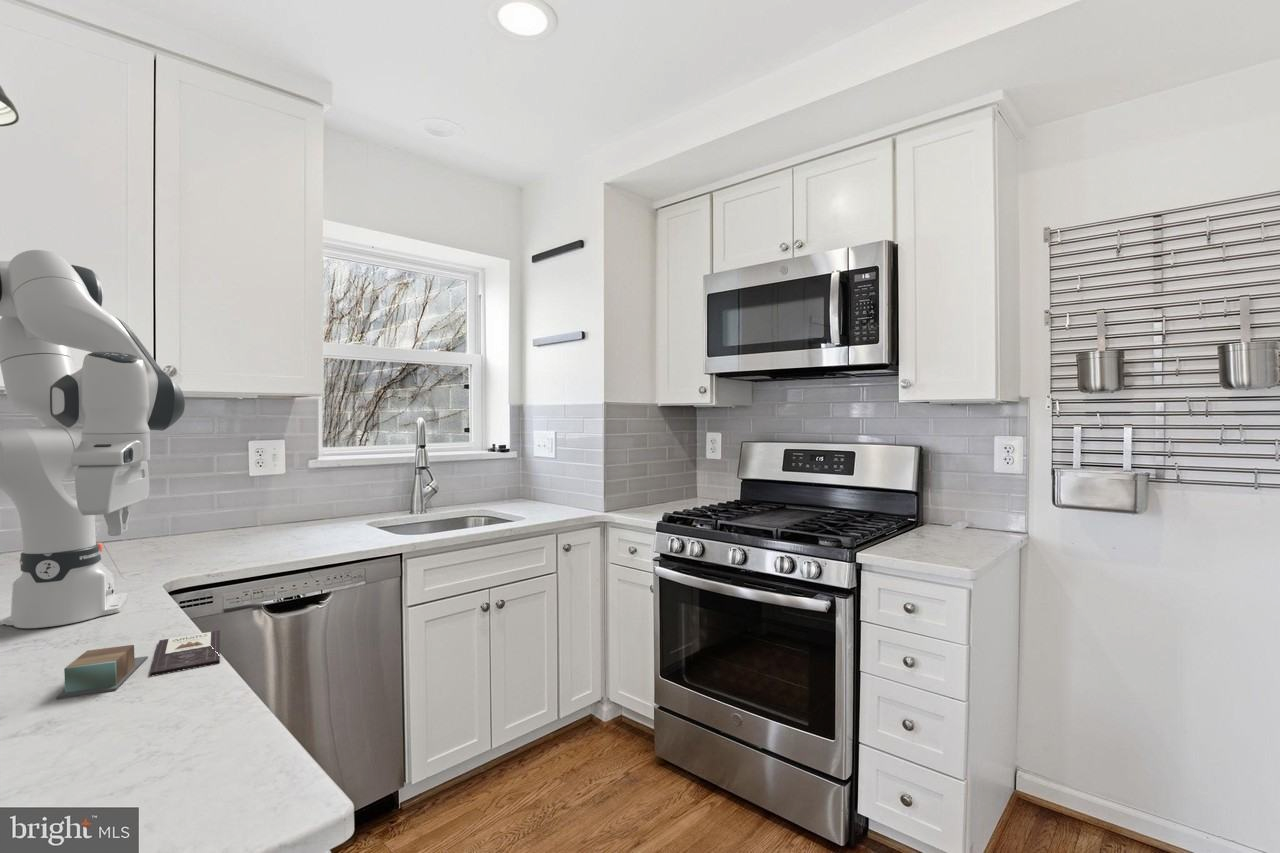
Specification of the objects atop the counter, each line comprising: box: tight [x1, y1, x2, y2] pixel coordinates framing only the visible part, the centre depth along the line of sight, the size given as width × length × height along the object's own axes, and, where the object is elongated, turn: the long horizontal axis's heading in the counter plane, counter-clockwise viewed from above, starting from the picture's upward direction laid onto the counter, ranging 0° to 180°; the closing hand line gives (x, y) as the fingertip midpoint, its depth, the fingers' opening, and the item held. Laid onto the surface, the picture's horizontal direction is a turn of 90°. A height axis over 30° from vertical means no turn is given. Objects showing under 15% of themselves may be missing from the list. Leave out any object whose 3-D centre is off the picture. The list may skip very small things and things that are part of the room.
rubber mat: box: [55, 655, 149, 700], centre depth 101 cm, size 14×7×1 cm, turn 22°
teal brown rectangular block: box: [63, 644, 136, 692], centre depth 99 cm, size 4×6×8 cm
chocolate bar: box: [150, 630, 221, 677], centre depth 111 cm, size 9×1×18 cm
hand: (117, 534), depth 107 cm, fingers closed
